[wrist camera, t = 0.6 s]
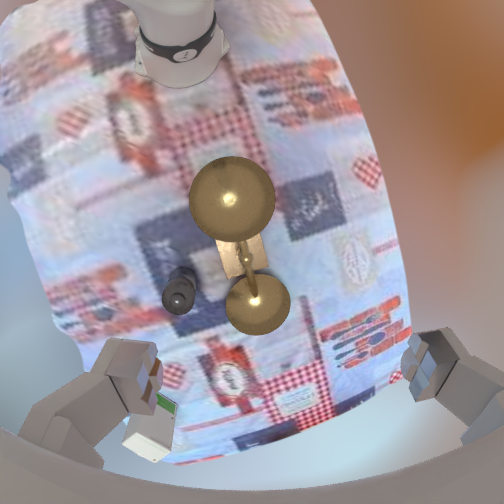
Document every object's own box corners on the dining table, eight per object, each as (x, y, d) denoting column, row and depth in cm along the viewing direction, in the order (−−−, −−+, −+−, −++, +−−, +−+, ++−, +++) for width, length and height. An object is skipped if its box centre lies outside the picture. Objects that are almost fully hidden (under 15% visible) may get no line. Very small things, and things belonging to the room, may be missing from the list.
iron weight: (166, 271, 52) (155, 292, 40) (191, 263, 53) (187, 282, 41) (175, 295, 54) (167, 322, 41) (199, 288, 54) (198, 313, 42)
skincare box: (177, 404, 58) (174, 452, 43) (162, 417, 58) (156, 465, 43) (148, 384, 56) (136, 432, 41) (133, 399, 56) (120, 445, 41)
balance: (185, 176, 50) (178, 170, 38) (249, 158, 51) (262, 147, 39) (234, 334, 57) (242, 368, 45) (291, 316, 58) (311, 345, 46)
